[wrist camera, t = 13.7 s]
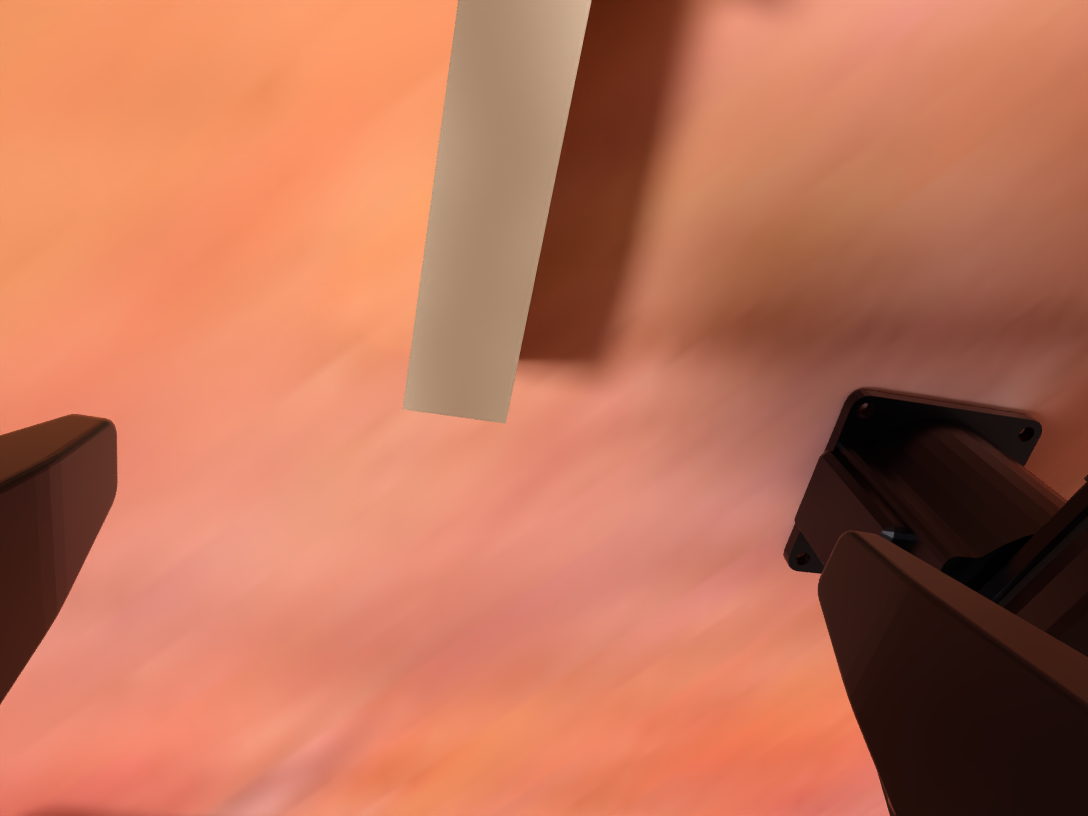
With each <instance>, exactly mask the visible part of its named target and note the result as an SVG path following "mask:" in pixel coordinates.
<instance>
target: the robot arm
mask: <svg viewBox="0 0 1088 816" xmlns="http://www.w3.org/2000/svg"><path fill="white" fill-rule="evenodd" d="M865 403H868V405H867V407H866V409H865V410H863V411H862V412H858V409H859V408H860V406H861V405H863V404H865ZM1024 428H1025V430H1024V431H1023V432H1022V433H1021V434H1019V433H1020V432H1021V430H1023V429H1024ZM1041 433H1042V426H1041V425H1040V423H1039V422H1038V421H1036V420H1035V419H1033V418H1032V417H1030V416H1028V415H1026V414H1020V413H1013V412H1006V411H1000V410H993V409H987V408H980V407H974V406H967V405H961V404H954V403H948V402H941V401H934V400H928V399H921V398H915V397H908V396H902V395H895V394H889V393H882V392H876V391H869V390H859V391H856V392H854V393H852V394H851V395H850V396H849V397H848V398H847V400H846V401H845V403H844V405H843V408H842V410H841V413H840V415H839V417H838V420H837V422H836V425H835V427H834V430H833V432H832V434H831V437H830V439H829V442H828V444H827V447H826V449H825V452H824V453H823V454H822V455H821V456H820V458H819V460H818V463H817V465H816V467H815V470H814V472H813V475H812V477H811V480H810V482H809V485H808V487H807V490H806V492H805V494H804V497H803V499H802V502H801V504H800V507H799V509H798V512H797V514H796V517H795V525H794V527H793V530H792V532H791V535H790V537H789V540H788V542H787V544H786V547H785V549H784V554H783V555H784V558H785V560H786V562H787V563H788V565H789V567H790V568H792V569H793V570H796V571H801V572H810V573H820V574H821V576H820V579H819V583H818V597H819V601H820V605H821V608H822V611H823V615H824V618H825V622H826V625H827V629H828V632H829V635H830V639H831V642H832V646H833V649H834V652H835V656H836V659H837V663H838V666H839V670H840V673H841V676H842V680H843V683H844V686H845V689H846V692H847V696H848V699H849V701H850V704H851V707H852V709H853V712H854V715H855V717H856V720H857V722H858V725H859V727H860V730H861V732H862V735H863V737H864V740H865V742H866V745H867V747H868V750H869V752H870V754H871V757H872V759H873V762H874V764H875V767H876V769H877V772H878V776H879V779H880V782H881V786H882V789H883V793H884V796H885V800H886V803H887V807H888V810H889V813H890V816H1088V475H1087V476H1086V477H1085V478H1084V479H1085V480H1086V481H1087V482H1086V483H1085V484H1084V485H1083V486H1082V487H1081V488H1080V489H1079V490H1078V491H1077V492H1076V493H1075V494H1074V495H1073V496H1072V497H1071V498H1070V499H1069V500H1068V501H1067V500H1066V499H1064V498H1063V497H1062V496H1061V495H1059V494H1058V493H1057V492H1055V491H1054V490H1053V489H1052V488H1050V487H1049V486H1048V485H1046V484H1045V483H1044V482H1043V481H1041V480H1040V479H1039V478H1037V477H1036V476H1035V475H1034V474H1032V473H1031V472H1030V471H1028V470H1027V469H1026V468H1024V465H1025V464H1026V462H1027V460H1028V458H1029V456H1030V454H1031V453H1032V451H1033V449H1034V447H1035V445H1036V443H1037V441H1038V440H1039V438H1040V436H1041ZM116 491H117V432H116V428H115V425H114V424H113V422H112V421H111V420H109V419H106V418H99V417H93V416H86V415H79V414H71V415H67V416H64V417H60V418H57V419H54V420H50V421H47V422H44V423H40V424H37V425H34V426H30V427H27V428H24V429H20V430H17V431H13V432H10V433H7V434H3V435H0V704H1V703H2V701H3V700H4V698H5V696H6V695H7V693H8V692H9V690H10V689H11V687H12V686H13V684H14V683H15V681H16V680H17V678H18V677H19V675H20V673H21V672H22V670H23V669H24V667H25V666H26V664H27V663H28V661H29V660H30V658H31V657H32V655H33V654H34V652H35V650H36V649H37V647H38V646H39V644H40V643H41V641H42V640H43V638H44V637H45V635H46V633H47V632H48V630H49V629H50V627H51V625H52V624H53V622H54V620H55V619H56V617H57V616H58V614H59V612H60V610H61V608H62V606H63V604H64V602H65V600H66V598H67V596H68V594H69V592H70V590H71V588H72V586H73V584H74V582H75V580H76V578H77V576H78V574H79V572H80V570H81V568H82V566H83V564H84V562H85V560H86V558H87V555H88V553H89V551H90V549H91V547H92V545H93V543H94V541H95V539H96V537H97V535H98V533H99V531H100V529H101V527H102V525H103V523H104V521H105V519H106V517H107V515H108V512H109V510H110V508H111V506H112V504H113V502H114V499H115V495H116ZM801 553H804V555H803V556H801V557H798V558H796V557H797V556H798V555H799V554H801Z"/></svg>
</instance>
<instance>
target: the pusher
mask: <svg viewBox="0 0 1088 816" xmlns="http://www.w3.org/2000/svg"><path fill="white" fill-rule="evenodd" d="M590 5H591V0H458V7H457V14H456V22H455V29H454V36H453V44H452V51H451V58H450V66H449V73H448V80H447V88H446V95H445V103H444V110H443V117H442V125H441V132H440V139H439V147H438V154H437V161H436V169H435V176H434V184H433V191H432V198H431V206H430V213H429V220H428V228H427V235H426V242H425V250H424V257H423V265H422V272H421V279H420V287H419V294H418V301H417V309H416V316H415V323H414V331H413V338H412V345H411V353H410V360H409V368H408V375H407V382H406V390H405V397H404V404H403V409H404V410H411V411H418V412H426V413H433V414H440V415H447V416H455V417H462V418H469V419H477V420H484V421H491V422H499V423H506V420H507V415H508V410H509V405H510V400H511V395H512V390H513V385H514V380H515V375H516V370H517V365H518V360H519V355H520V350H521V346H522V341H523V336H524V331H525V326H526V321H527V316H528V311H529V306H530V301H531V296H532V291H533V286H534V281H535V276H536V272H537V267H538V262H539V257H540V252H541V247H542V242H543V237H544V232H545V227H546V222H547V217H548V212H549V207H550V202H551V198H552V193H553V188H554V183H555V178H556V173H557V168H558V163H559V158H560V153H561V148H562V143H563V138H564V133H565V128H566V124H567V119H568V114H569V109H570V104H571V99H572V94H573V89H574V84H575V79H576V74H577V69H578V64H579V59H580V54H581V50H582V45H583V40H584V35H585V30H586V25H587V20H588V15H589V10H590Z"/></svg>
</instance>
